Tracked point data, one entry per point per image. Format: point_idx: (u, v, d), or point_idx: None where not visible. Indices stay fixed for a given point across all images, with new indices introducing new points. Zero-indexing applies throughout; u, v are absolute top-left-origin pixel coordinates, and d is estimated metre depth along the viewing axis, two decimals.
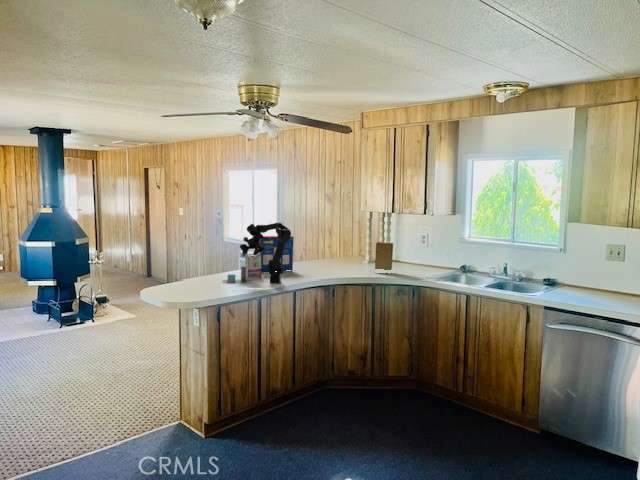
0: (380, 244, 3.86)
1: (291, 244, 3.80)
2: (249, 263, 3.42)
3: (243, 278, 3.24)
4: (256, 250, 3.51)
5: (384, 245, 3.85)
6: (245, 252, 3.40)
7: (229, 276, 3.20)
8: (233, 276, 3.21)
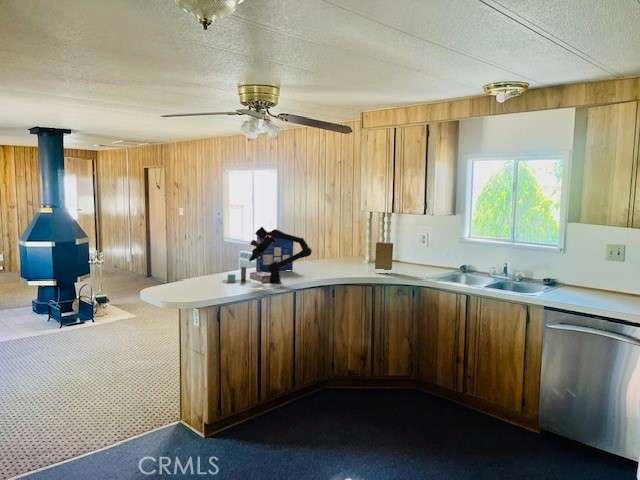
0: (380, 244, 3.86)
1: (291, 244, 3.80)
2: None
3: (243, 278, 3.24)
4: None
5: (384, 245, 3.85)
6: None
7: (229, 276, 3.20)
8: (233, 276, 3.21)
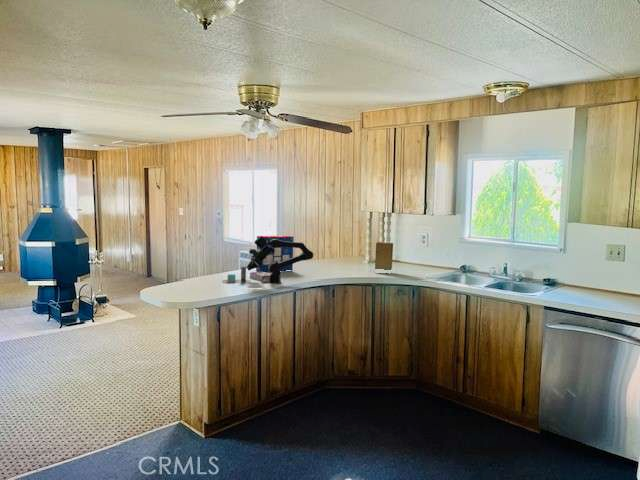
0: (380, 244, 3.86)
1: None
2: None
3: (243, 278, 3.24)
4: None
5: (384, 245, 3.85)
6: (258, 266, 3.19)
7: (229, 276, 3.20)
8: (233, 276, 3.21)
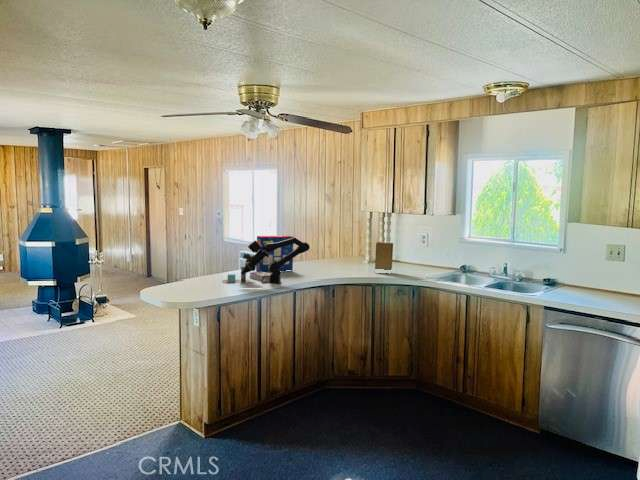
0: (380, 244, 3.86)
1: (291, 244, 3.80)
2: None
3: (243, 278, 3.24)
4: None
5: (384, 245, 3.85)
6: (251, 270, 3.21)
7: (229, 276, 3.20)
8: (233, 276, 3.21)
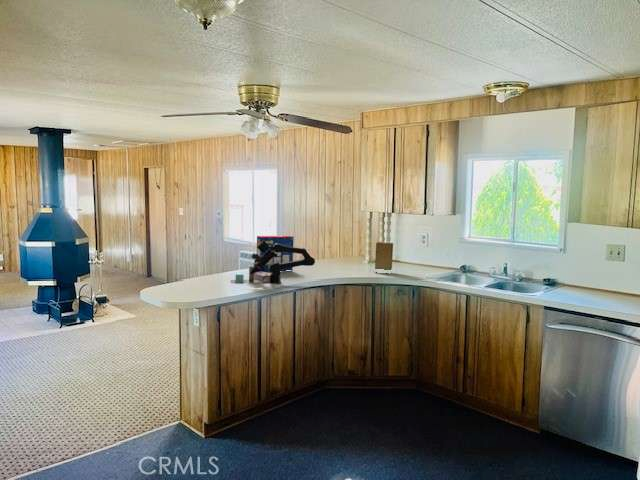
0: (380, 244, 3.86)
1: (291, 244, 3.80)
2: None
3: (251, 278, 3.25)
4: None
5: (384, 245, 3.85)
6: (260, 270, 3.23)
7: (237, 276, 3.22)
8: (241, 276, 3.22)
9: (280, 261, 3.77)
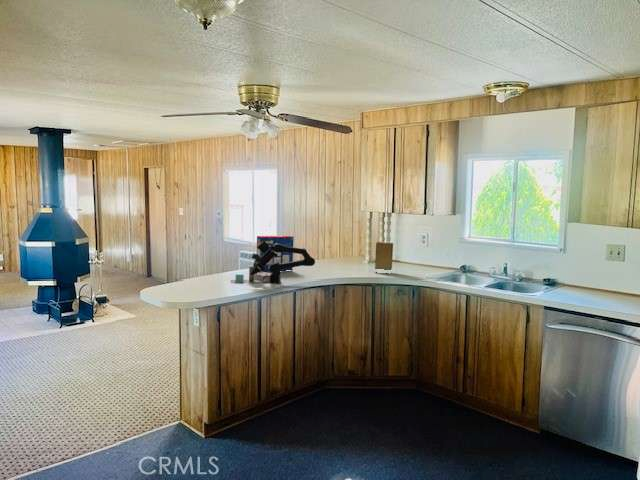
0: (380, 244, 3.86)
1: (291, 244, 3.80)
2: None
3: (251, 278, 3.25)
4: None
5: (384, 245, 3.85)
6: (261, 271, 3.20)
7: (237, 276, 3.22)
8: (241, 276, 3.22)
9: (280, 261, 3.77)
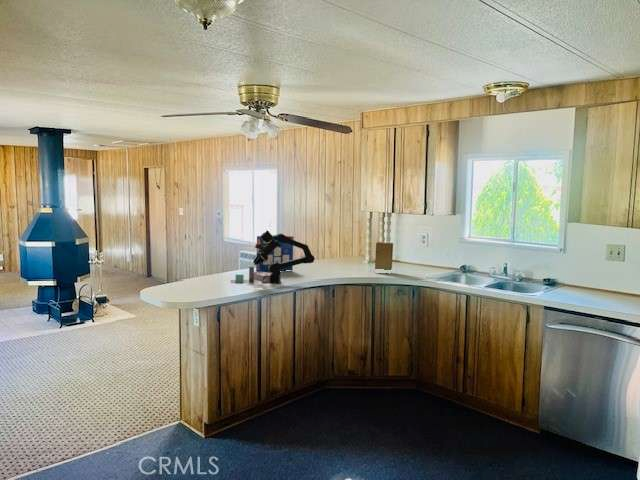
0: (380, 244, 3.86)
1: None
2: None
3: (251, 278, 3.25)
4: None
5: (384, 245, 3.85)
6: None
7: (237, 276, 3.22)
8: (241, 276, 3.22)
9: (280, 261, 3.77)
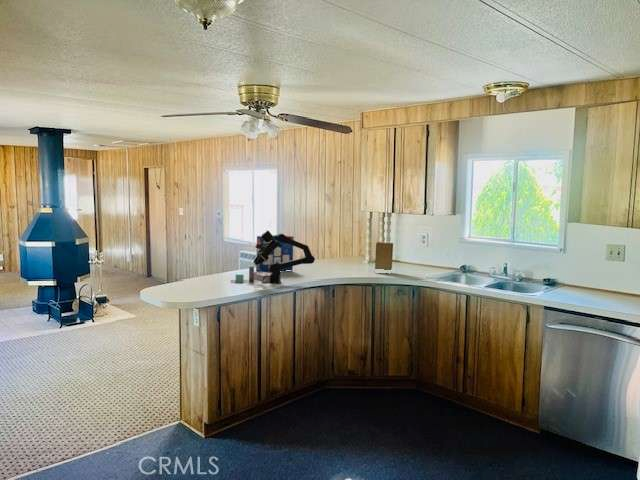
0: (380, 244, 3.86)
1: None
2: None
3: (251, 278, 3.25)
4: None
5: (384, 245, 3.85)
6: None
7: (237, 276, 3.22)
8: (241, 276, 3.22)
9: (280, 261, 3.77)
